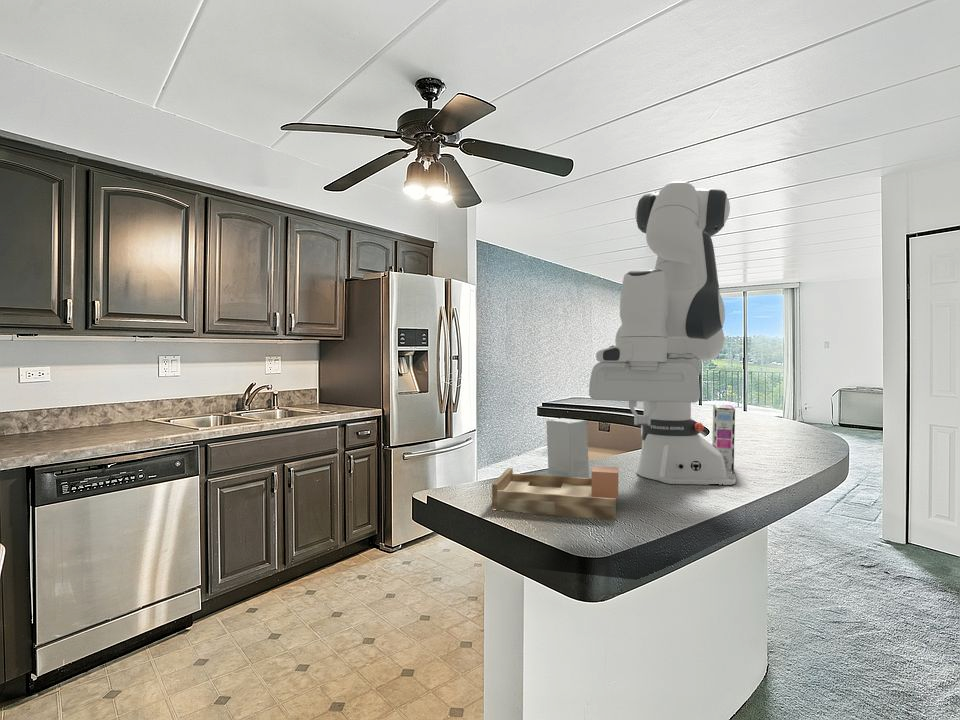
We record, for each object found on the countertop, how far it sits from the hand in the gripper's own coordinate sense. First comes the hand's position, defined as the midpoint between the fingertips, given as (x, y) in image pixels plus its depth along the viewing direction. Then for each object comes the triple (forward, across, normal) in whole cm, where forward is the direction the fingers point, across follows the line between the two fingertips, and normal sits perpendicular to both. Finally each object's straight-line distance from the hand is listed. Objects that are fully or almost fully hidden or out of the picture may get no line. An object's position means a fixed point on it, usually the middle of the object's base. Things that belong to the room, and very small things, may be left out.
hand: (642, 425), depth 99 cm
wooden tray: (+17, +16, -1) cm, 23 cm away
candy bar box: (+16, -22, -44) cm, 52 cm away
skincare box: (+16, +16, -18) cm, 29 cm away
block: (+14, +7, -1) cm, 16 cm away
